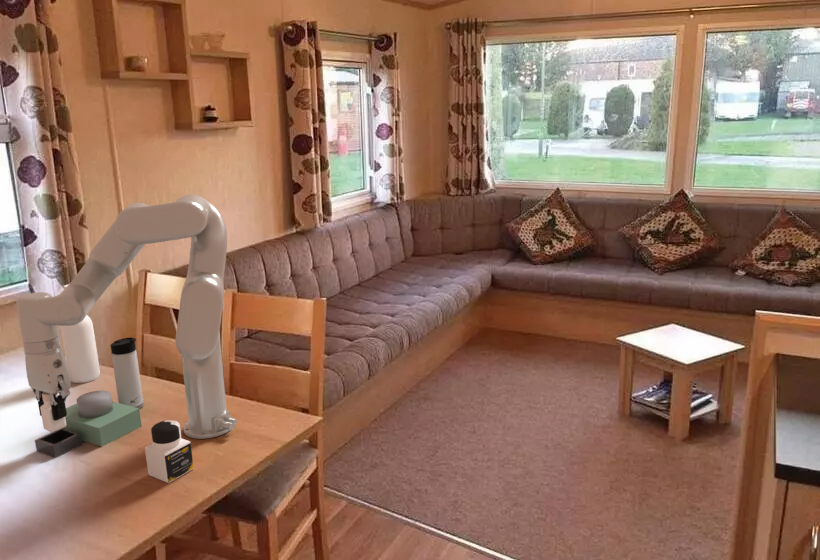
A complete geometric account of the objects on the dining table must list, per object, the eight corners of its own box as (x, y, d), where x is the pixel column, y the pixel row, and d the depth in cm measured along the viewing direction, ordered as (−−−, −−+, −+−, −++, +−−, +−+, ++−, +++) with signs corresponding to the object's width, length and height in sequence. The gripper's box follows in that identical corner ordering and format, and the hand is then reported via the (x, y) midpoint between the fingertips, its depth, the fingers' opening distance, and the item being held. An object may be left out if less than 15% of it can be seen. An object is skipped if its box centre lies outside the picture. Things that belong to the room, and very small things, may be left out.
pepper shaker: (67, 426, 161) (62, 390, 159) (51, 433, 158) (45, 396, 155) (58, 423, 163) (52, 387, 161) (42, 429, 160) (36, 393, 157)
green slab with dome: (141, 426, 172) (137, 394, 170) (101, 446, 162) (96, 413, 160) (96, 413, 180) (91, 382, 178) (55, 431, 170) (49, 399, 168)
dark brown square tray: (82, 444, 163) (80, 433, 163) (55, 457, 157) (53, 446, 156) (63, 438, 167) (62, 427, 166) (36, 451, 160) (34, 440, 160)
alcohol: (96, 382, 201) (82, 287, 194) (65, 385, 200) (49, 290, 192) (103, 371, 210) (89, 280, 202) (73, 374, 208) (58, 282, 201)
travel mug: (139, 411, 181) (129, 343, 176) (115, 412, 181) (105, 343, 176) (148, 402, 187) (139, 335, 182) (125, 402, 187) (116, 335, 182)
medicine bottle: (168, 484, 145) (162, 434, 142) (147, 475, 149) (141, 427, 146) (194, 469, 151) (188, 421, 148) (173, 461, 154) (167, 414, 151)
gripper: (79, 345, 154) (90, 416, 159) (35, 335, 162) (46, 403, 167) (49, 355, 148) (61, 429, 153) (4, 344, 156) (17, 415, 160)
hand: (53, 415), depth 160 cm, fingers closed on pepper shaker, 4 cm apart
